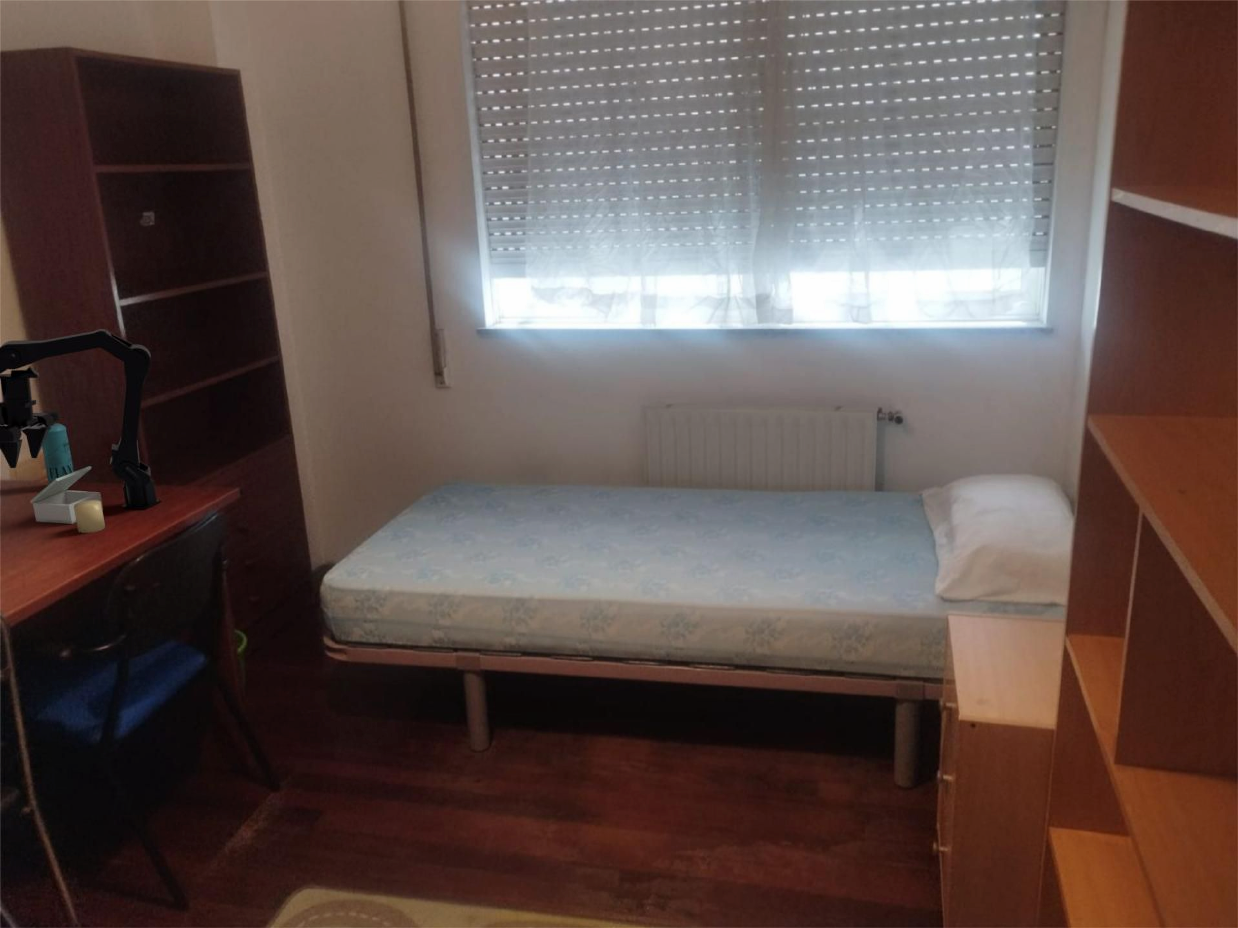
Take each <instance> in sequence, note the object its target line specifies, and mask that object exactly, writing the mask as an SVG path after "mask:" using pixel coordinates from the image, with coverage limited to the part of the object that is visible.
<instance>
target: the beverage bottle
mask: <svg viewBox="0 0 1238 928" xmlns="http://www.w3.org/2000/svg"><path fill="white" fill-rule="evenodd" d="M44 413H49V414H50V415H51V416H52V417H53V421H54V422H57V421H60V415H59V413H58V411H46V412H44ZM45 427H46V426H45ZM50 427H51V429H50V430H49V432H48V434H47V436H46V438H45V440H44V443H43V445H42V447H41V450H42V455H43V462H44V466H45V467H44V468H45V475H46V478H47V482H48V483H49V484H51V483H52V482H53V481H54V480H55V479H57V478H60V477H63V476H65V475H68V474H70V473H73V472H75V469H74V468H75V467H74V466H75V465H74V463H73V458H72V455H71V448H70V442H69V437H68V434H67V427H66V426H65V425H63V424H61V423H54V425H52V426H50Z"/></svg>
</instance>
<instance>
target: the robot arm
mask: <svg viewBox="0 0 1238 928" xmlns="http://www.w3.org/2000/svg"><path fill="white" fill-rule="evenodd" d="M95 349H102V350H104V351H105V352H107V353H108V354H109V355H111V356H113V357H114V358H115V359H118V360H120V361H121V362H123V365H124V377H125V383H126V384H125V394H124V404H123V405H124V406H123V413H122V415H123V416H122V425H121V434H120V440H119V442H118V444H114V443H112V444H111V457H110V460H109V467H112V471H113V474H114V475H115V476H116V477H117V478H118V479H121V480H123V482H122V483H123V487H122V491H123V496H124V497H123V498H124V503H125V504H123V505H121V507H122V508H123V509H134V510H135V509H136V510H146V509H148V508H150V507H152V506H154V505H156V504H158V503H162V502H163V501H162V499H161V498H157V491H156V487H155V480H154V479H152V478H151V466H149V465H147V464H145V462H142V461H141V460H140V453H139V441H138V438H139V437H138V435H139V426H140V419H141V418H140V417H141V408H142V397H143V389H144V388H143V387H144V385H145V382H146V378H147V376H148V373H149V369H150V367H151V364H152V363H151V361H152V359H151V358H152V357H151V352H150V350H149V349H148V348H147V347H145V346H144V345H142V344H132V343H131V342H129V341H128V340H126V339H124V338H121V337H119V336H117V335H115V334H113V333H111V332H110V331H109V330H107V329H103V328H99V329H96V330H92V331H88V332H82V333H78V334H72V335H66V336H61V337H56V338H51V339H50V338H49V339H44V340H32V339H31V340H30V339H29V340H26V339H25V340H24V339H23V340H8V341H6V342H4V343H3V344H2V345H1V346H0V388H1V389H0V390H1V398H2V401H1V402H0V451H1V453H2V455H3V456H4V458H5V460H6V462H7V464H8V466H9V468H10V469H16V468H17V464H18V463H19V458H20V453H21V448H22V443H23V439H21V437H22V433H23V434H24V435H25V437H26V440H27V445H28V446H27V447H28V449H29V454H30V457H31V459H37V458H38V457H39V454H40V452H41V450H42V445H43V443H44V440H45V438H46V436H47V434H48V432H49V430H50V429H51V427H50V426H52V425H54V424H55V423H54V422H55V421H53V417H52V416H51V415H50V414H49V413H45V412H34V407H33V406H35V405H37V400H36V399H33V396H32V387H31V379H38V377H40V373H39V372H38V371H37V370H35V369H34V368H33V367H32V366H30V365H31V364H34V363H36V362H38V361H42V360H43V359H44V360H45V359H46V358H52V357H57V356H62V355H68V354H74V353H80V352H84V351H89V350H95ZM27 366H28V367H27ZM23 367H27V368H26V369H20V368H23ZM8 370H11V371H10V373H4V372H6V371H8ZM45 426H46V427H45Z"/></svg>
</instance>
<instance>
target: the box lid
mask: <svg viewBox="0 0 1238 928" xmlns="http://www.w3.org/2000/svg"><path fill="white" fill-rule="evenodd" d="M91 469H92V466H87V467H84V468H81V469H79V470H75V471H74V472H73V473H70V474H68V475H65V476H63V477H60V478H57V479H55V480H54V481H53V482H52V483H51V484H50V483H49V484H48V485H47V486H45V488H43V489H42V490H41V491H40V492H39V493H38V494H37V495H35V497H33V498H32V499H31V500H30V501H29V503H30V504H32V505H33V503H35V502H37V501H40V500H42V499H45V498H47V497H50V496H52V495H55V494H57V493H60V492H62V491H65V490H68V489H69V488H70V487H71V486H73V485H74V484H75V483H76V482H78V480H79V479H81V478H82V477H83V476H84V475H85V474H87V473H88V472H89V471H90V470H91Z"/></svg>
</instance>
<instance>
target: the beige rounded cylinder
mask: <svg viewBox="0 0 1238 928" xmlns="http://www.w3.org/2000/svg"><path fill="white" fill-rule="evenodd" d="M74 511H75V516H76V525H77V531H78V533H80V532H81V534H91V532H92V533H96V532H100V531H102V530H104V529H105V528H106V525H105V523H106V522H105V519H104V517H105V516H104V513H103V510H102V506H101V502H100V501H97V500H91V501H84V502H80V503H77V504H75V505H74Z"/></svg>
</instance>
